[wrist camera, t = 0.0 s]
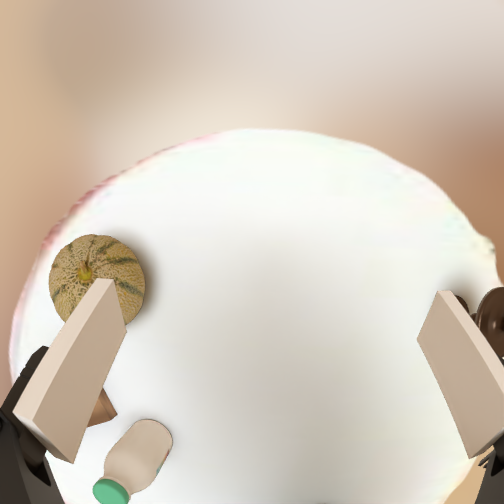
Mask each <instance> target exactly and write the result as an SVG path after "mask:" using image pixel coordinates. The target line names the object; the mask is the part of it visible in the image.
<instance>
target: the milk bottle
mask: <svg viewBox="0 0 504 504" xmlns="http://www.w3.org/2000/svg"><path fill="white" fill-rule="evenodd" d="M171 447H172V438H171V435H170V433H169V431H168V430H167V429H166V428H165V427H164V426H163V425H161V424H160V423H158V422H156V421H153V420H140V421H138V422H136V423H135V424H134V425H133V426H132V427H131V428H130V429H129V430H128V431H127V432H126V433H125V434H124V435H123V436H122V437H121V438H120V440H119V441H118V442H117V443H116V444H115V445H114V446H113V447H112V449H111V450H110V451H109V453H108V454H107V456H106V459H105V462H104V476H103V477H101V478H100V479H99V480H98V481H97V482H96V483H95V485H94V486H93V494H94V496H95V498H96V499H97V500H98V501H99V502H100V503H101V504H128V502H129V500H130V499H131V495H132V494H134V493H136V492H139V491H142V490H144V489H146V488H147V487H148V486H149V485H150V484H151V483H152V482H153V481H154V479H155V478H156V476H157V474H158V473H159V471H160V469H161V467H162V465H163V463H164V461H165V460H166V458H167V456H168V454H169V452H170V450H171Z"/></svg>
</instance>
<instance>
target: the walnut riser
mask: <svg viewBox="0 0 504 504" xmlns="http://www.w3.org/2000/svg"><path fill="white" fill-rule="evenodd" d="M116 415H117V413H116V411H115V409H114V408H113V406H112V404H111V402H110V400H109V399H108V397H107V395H106V393H105V391H104V389H103V387H102V390H101V392H100V395H99V397H98V399H97V402H96V404H95V407H94V409H93V412H92V415H91V417H90V420H89V422H88V425H87V427H90V426H93V425H97V424H100V423H104V422H107V421H110V420H112V419H113V418H114V417H115V416H116Z"/></svg>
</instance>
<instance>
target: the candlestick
mask: <svg viewBox="0 0 504 504" xmlns="http://www.w3.org/2000/svg"><path fill="white" fill-rule="evenodd" d="M454 296H455V297H456V298H457V300H458V301H459V302H460V304H461V305H462V306H463V308H464V309H465V310H466V312H467V313H468V314H469V310H468V307H467V304H466V302H465V301H464V300H463V299H462V298H461V297H459V296H456V295H454ZM469 316H470V317H471V319H472V320H473V321H474V323H475V324H476V326H477V327H478V328H479V330H480V331H481V333H482V334H483V336H484V337H485V339H486V340H487V342H488V343H489V345H490V346H491V348H492V349H493V351H494V352H495V354H496V353H497V354H498V355H499V356H500V357H501V358H502V357H504V287H497V288H494V289H492V290H490V291H489V292H488V293H487V294H486V295H485V296H484V298H483V299H482V301H481V303H480V305H479V307H478V310H477V313H474V314H472V315H469Z"/></svg>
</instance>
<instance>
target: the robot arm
mask: <svg viewBox="0 0 504 504" xmlns="http://www.w3.org/2000/svg"><path fill="white" fill-rule="evenodd" d="M126 333H127V330H126V327H125V323H124V319H123V316H122V312H121V308H120V304H119V300H118V296H117V292H116V288H115V283H114V279H103V278H97V279H96V280H95V282H94V283H93V284H92V286H91V287H90V288H89V290H88V291H87V293H86V294H85V295H84V297H83V298H82V300H81V301H80V302H79V304H78V305H77V307H76V308H75V310H74V311H73V312H72V314H71V315H70V317H69V318H68V320H67V321H66V323H65V324H64V326H63V327H62V329H61V330H60V332H59V333H58V335H57V336H56V338H55V340H54V341H53V343H52V344H51V346H50V347H46V346H42V347H41V348H39V349H38V350H37V351H36V352H35V353H33V354H32V356H31V357H30V359H29V360H28V362H27V364H26V365H25V366H26V367H25V368H23V370H22V372H21V373H20V377H18V378H17V380H16V382H15V383H14V385H13V387H12V389H11V390H10V392H9V394H8V396H7V398H6V399H5V401H4V403H3V405H2V407H1V408H0V504H65V503H64V501H63V499H62V496H61V494H60V492H59V489H58V487H57V484H56V482H55V479H54V477H53V474H52V471H51V469H50V466H49V463H48V460H47V459H46V457H45V453H46V450H48V451H49V452H50V453H51V454H52V455H53V456H54V457H56V458H58V459H61V460H64V461H66V462H69V463H72V464H74V461H75V458H76V455H77V452H78V449H79V447H80V444H81V441H82V438H83V436H84V433H85V430H86V428H87V425H88V422H89V420H90V417H91V415H92V412H93V409H94V407H95V404H96V402H97V399H98V397H99V395H100V392H101V390H102V387H103V385H104V382H105V380H106V378H107V375H108V373H109V371H110V368H111V366H112V364H113V362H114V359H115V357H116V355H117V353H118V350H119V348H120V346H121V344H122V341H123V339H124V337H125V335H126ZM417 341H418V343H419V345H420V347H421V349H422V351H423V353H424V355H425V357H426V359H427V361H428V363H429V365H430V367H431V369H432V371H433V373H434V376H435V378H436V380H437V382H438V384H439V386H440V389H441V391H442V393H443V395H444V398H445V400H446V402H447V404H448V407H449V409H450V411H451V414H452V416H453V419H454V421H455V423H456V426H457V428H458V431H459V434H460V436H461V439H462V441H463V444H464V447H465V449H466V452H467V455H468V458H469V459H470V458H473V457H475V456H478V455H480V454H482V453H484V452H485V451H486V450H487V449H488V448H490V447H491V446H492V445H493V446H494V450H493V451H492V452H491V453H490V454H488V455H487V456H486V457H485V458H484V459H482V460H481V461H480V463H479V465H478V466H481V465H483V464H484V463H485V462H486V461H487V460H488V463H487V464H485V465H484V467H483V468H486V471H485V475H484V478H483V481H482V484H481V488H480V490H479V493H478V496H477V499H476V501H475V504H504V359H503V358H501V357H500V356H499V355H498V354H497V353H496V354H495V352H494V351H493V349H492V348H491V346H490V345H489V343H488V342H487V340H486V339H485V337H484V336H483V334H482V333H481V331H480V330H479V328H478V327H477V326H476V324H475V323H474V321H473V320H472V319H471V317H470V316H469V314H468V313H467V312H466V310H465V309H464V308H463V306H462V305H461V304H460V302H459V301H458V300H457V298H456V297H455V296H454V294H453V293H452V292H451V291H437V293H436V296H435V298H434V301H433V303H432V306H431V308H430V310H429V313H428V315H427V317H426V320H425V322H424V324H423V326H422V328H421V331H420V333H419V335H418V337H417Z"/></svg>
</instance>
